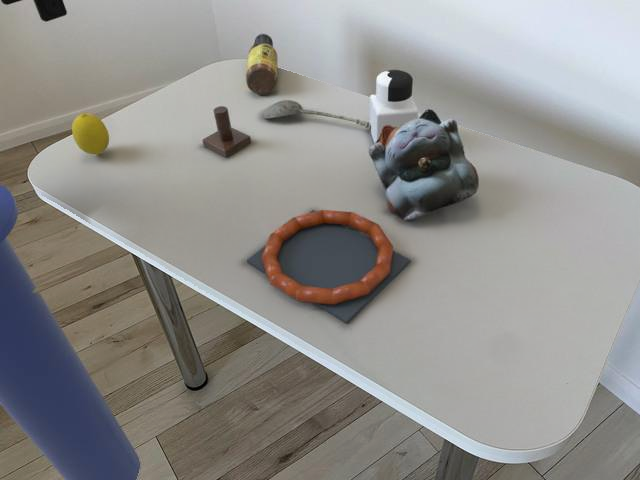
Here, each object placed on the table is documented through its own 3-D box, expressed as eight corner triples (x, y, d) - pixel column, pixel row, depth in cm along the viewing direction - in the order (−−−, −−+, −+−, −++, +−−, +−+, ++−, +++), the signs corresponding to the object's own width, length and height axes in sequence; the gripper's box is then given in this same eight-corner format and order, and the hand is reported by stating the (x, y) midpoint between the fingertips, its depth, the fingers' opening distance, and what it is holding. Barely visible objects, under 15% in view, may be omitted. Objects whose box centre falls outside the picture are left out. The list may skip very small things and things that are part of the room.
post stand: (226, 158, 96) (218, 122, 91) (203, 146, 99) (195, 111, 94) (251, 143, 99) (245, 107, 95) (228, 132, 102) (222, 97, 97)
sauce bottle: (265, 62, 107) (266, 20, 121) (239, 77, 109) (242, 34, 122) (284, 88, 111) (282, 45, 125) (258, 103, 113) (259, 59, 127)
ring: (336, 328, 68) (335, 317, 66) (237, 267, 76) (235, 256, 74) (416, 250, 78) (417, 240, 76) (321, 203, 86) (320, 193, 84)
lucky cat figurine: (383, 228, 82) (357, 136, 77) (388, 207, 93) (365, 125, 88) (485, 203, 79) (464, 105, 74) (477, 184, 90) (458, 98, 85)
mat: (346, 323, 69) (346, 321, 69) (246, 262, 77) (246, 259, 77) (410, 262, 77) (410, 259, 76) (313, 212, 85) (313, 209, 85)
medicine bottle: (407, 126, 103) (411, 63, 94) (416, 147, 97) (421, 82, 89) (369, 130, 102) (369, 67, 94) (376, 151, 97) (377, 86, 88)
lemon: (105, 142, 101) (90, 102, 95) (120, 154, 98) (105, 113, 92) (76, 154, 98) (59, 114, 92) (91, 167, 95) (73, 125, 89)
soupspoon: (274, 107, 110) (258, 125, 106) (271, 92, 108) (254, 109, 103) (378, 121, 103) (365, 140, 99) (377, 104, 100) (364, 124, 96)
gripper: (-103, -159, 61) (-26, 4, 73) (-31, -146, 53) (42, 35, 65) (-34, -167, 65) (28, -12, 77) (43, -156, 57) (98, 15, 69)
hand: (34, 9), depth 71 cm, fingers open, 9 cm apart
